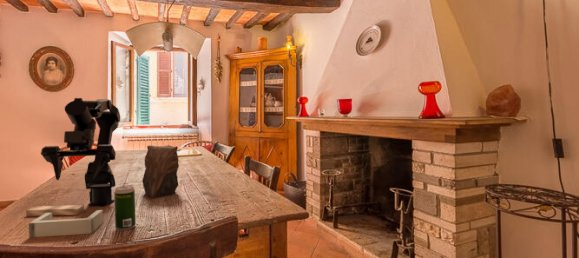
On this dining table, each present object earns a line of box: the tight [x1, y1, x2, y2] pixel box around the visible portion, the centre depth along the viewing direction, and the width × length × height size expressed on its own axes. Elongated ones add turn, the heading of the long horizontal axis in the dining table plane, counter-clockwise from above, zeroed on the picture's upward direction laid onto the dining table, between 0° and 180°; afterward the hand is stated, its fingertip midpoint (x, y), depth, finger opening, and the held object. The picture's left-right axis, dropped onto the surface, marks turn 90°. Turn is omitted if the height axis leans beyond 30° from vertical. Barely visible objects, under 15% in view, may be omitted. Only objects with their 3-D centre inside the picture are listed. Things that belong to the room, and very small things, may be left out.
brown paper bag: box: [142, 144, 180, 200], centre depth 136 cm, size 13×13×20 cm
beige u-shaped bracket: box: [28, 209, 104, 238], centre depth 96 cm, size 9×16×4 cm, turn 101°
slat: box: [25, 204, 85, 217], centre depth 111 cm, size 16×4×2 cm, turn 96°
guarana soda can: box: [113, 185, 137, 231], centre depth 97 cm, size 5×5×12 cm
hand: (75, 178), depth 96 cm, fingers open, 9 cm apart
